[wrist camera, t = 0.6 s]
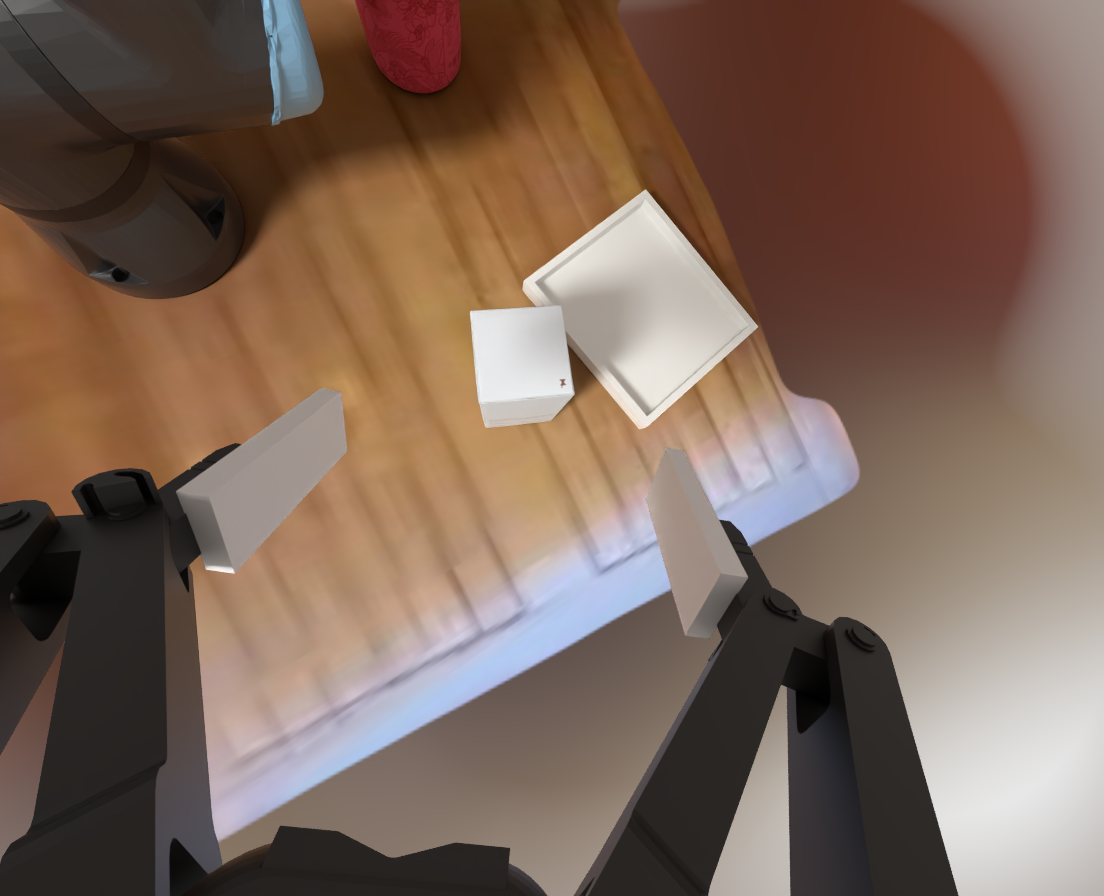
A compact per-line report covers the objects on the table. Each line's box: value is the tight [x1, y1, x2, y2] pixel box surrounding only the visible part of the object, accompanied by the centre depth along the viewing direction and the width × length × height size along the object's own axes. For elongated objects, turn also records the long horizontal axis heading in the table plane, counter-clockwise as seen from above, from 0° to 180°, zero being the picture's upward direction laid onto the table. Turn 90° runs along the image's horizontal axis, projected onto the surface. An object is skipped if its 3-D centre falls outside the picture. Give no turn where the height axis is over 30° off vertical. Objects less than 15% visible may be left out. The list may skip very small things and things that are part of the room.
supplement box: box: [470, 305, 575, 428], centre depth 36 cm, size 7×7×13 cm
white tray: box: [522, 189, 758, 429], centre depth 44 cm, size 20×18×2 cm
